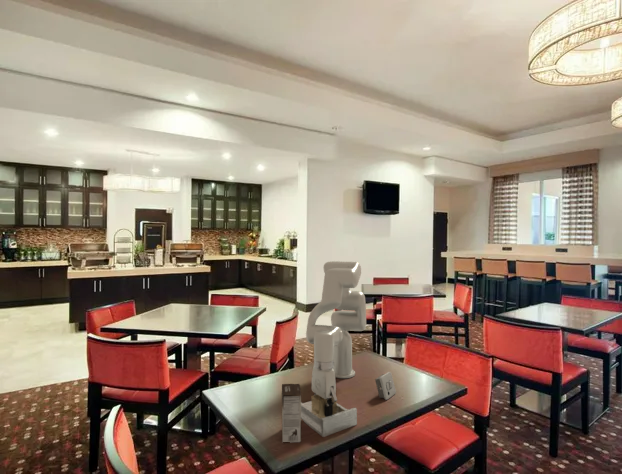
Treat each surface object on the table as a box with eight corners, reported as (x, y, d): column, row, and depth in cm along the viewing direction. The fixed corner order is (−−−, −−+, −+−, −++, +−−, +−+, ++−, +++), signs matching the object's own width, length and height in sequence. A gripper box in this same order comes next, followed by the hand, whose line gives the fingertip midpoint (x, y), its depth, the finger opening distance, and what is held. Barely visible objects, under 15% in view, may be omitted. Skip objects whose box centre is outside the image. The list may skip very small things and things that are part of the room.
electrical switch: (386, 401, 151) (384, 378, 152) (375, 398, 154) (373, 376, 155) (396, 393, 158) (394, 371, 159) (385, 391, 162) (384, 370, 162)
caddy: (288, 409, 144) (288, 395, 144) (319, 400, 152) (319, 386, 152) (323, 437, 124) (323, 420, 124) (356, 424, 132) (356, 408, 132)
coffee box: (281, 429, 129) (281, 383, 129) (299, 428, 130) (299, 382, 130) (281, 443, 120) (281, 394, 120) (301, 442, 120) (301, 393, 121)
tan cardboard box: (311, 414, 136) (311, 395, 136) (328, 409, 140) (328, 390, 140) (319, 420, 132) (319, 400, 132) (336, 414, 136) (336, 395, 136)
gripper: (303, 359, 141) (303, 406, 141) (329, 373, 127) (329, 425, 127) (319, 356, 145) (319, 401, 145) (346, 368, 131) (346, 419, 131)
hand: (324, 411), depth 136 cm, fingers closed on tan cardboard box, 5 cm apart
